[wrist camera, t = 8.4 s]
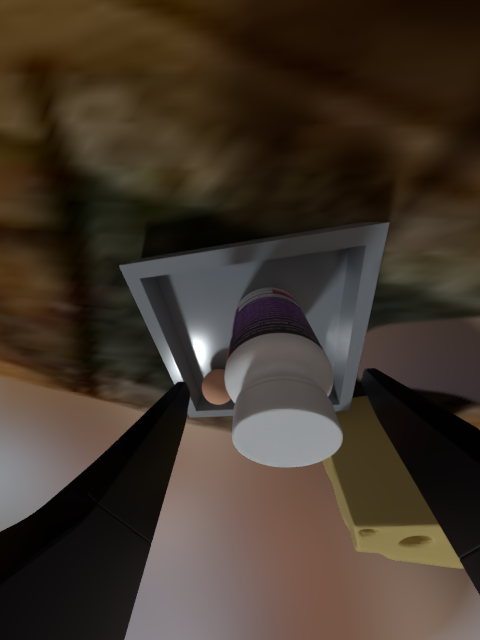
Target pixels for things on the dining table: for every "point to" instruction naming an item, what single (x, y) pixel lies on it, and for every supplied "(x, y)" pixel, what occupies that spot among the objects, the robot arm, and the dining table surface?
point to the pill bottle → (279, 384)
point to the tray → (249, 275)
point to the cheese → (382, 494)
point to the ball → (215, 387)
